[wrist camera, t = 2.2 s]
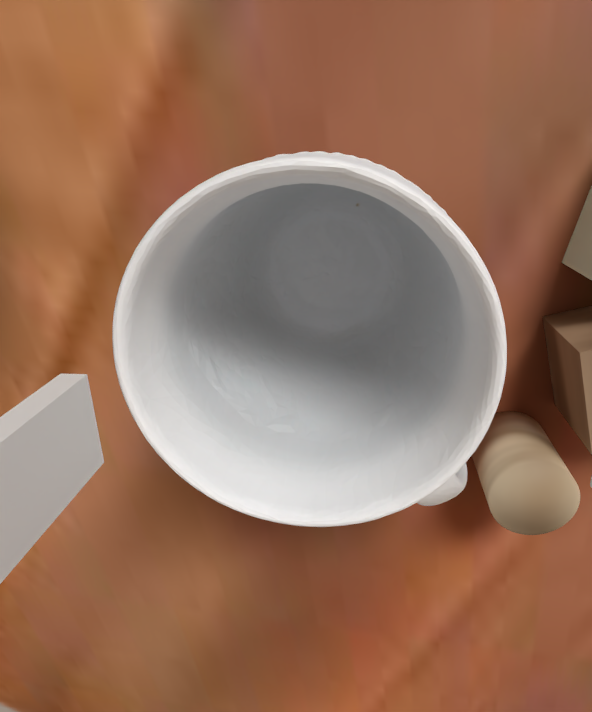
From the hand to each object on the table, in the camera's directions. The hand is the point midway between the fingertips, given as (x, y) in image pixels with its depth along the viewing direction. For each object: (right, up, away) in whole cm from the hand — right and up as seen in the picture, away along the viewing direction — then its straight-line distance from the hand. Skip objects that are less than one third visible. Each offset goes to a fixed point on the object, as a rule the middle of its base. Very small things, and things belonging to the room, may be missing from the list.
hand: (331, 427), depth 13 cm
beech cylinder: (+11, -3, +15) cm, 19 cm away
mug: (+1, +6, +13) cm, 15 cm away
